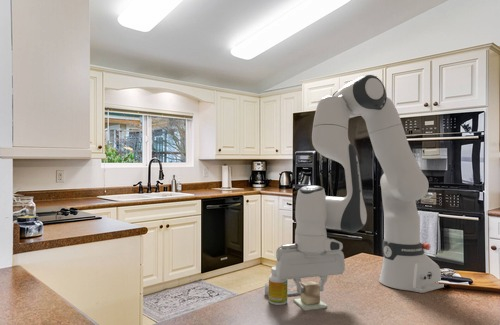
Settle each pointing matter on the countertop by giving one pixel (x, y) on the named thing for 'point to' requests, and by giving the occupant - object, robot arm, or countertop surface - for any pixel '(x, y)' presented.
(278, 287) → the supplement bottle
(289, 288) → the pad
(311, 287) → the block
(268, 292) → the light grey dome
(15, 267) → the countertop surface
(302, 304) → the pad
